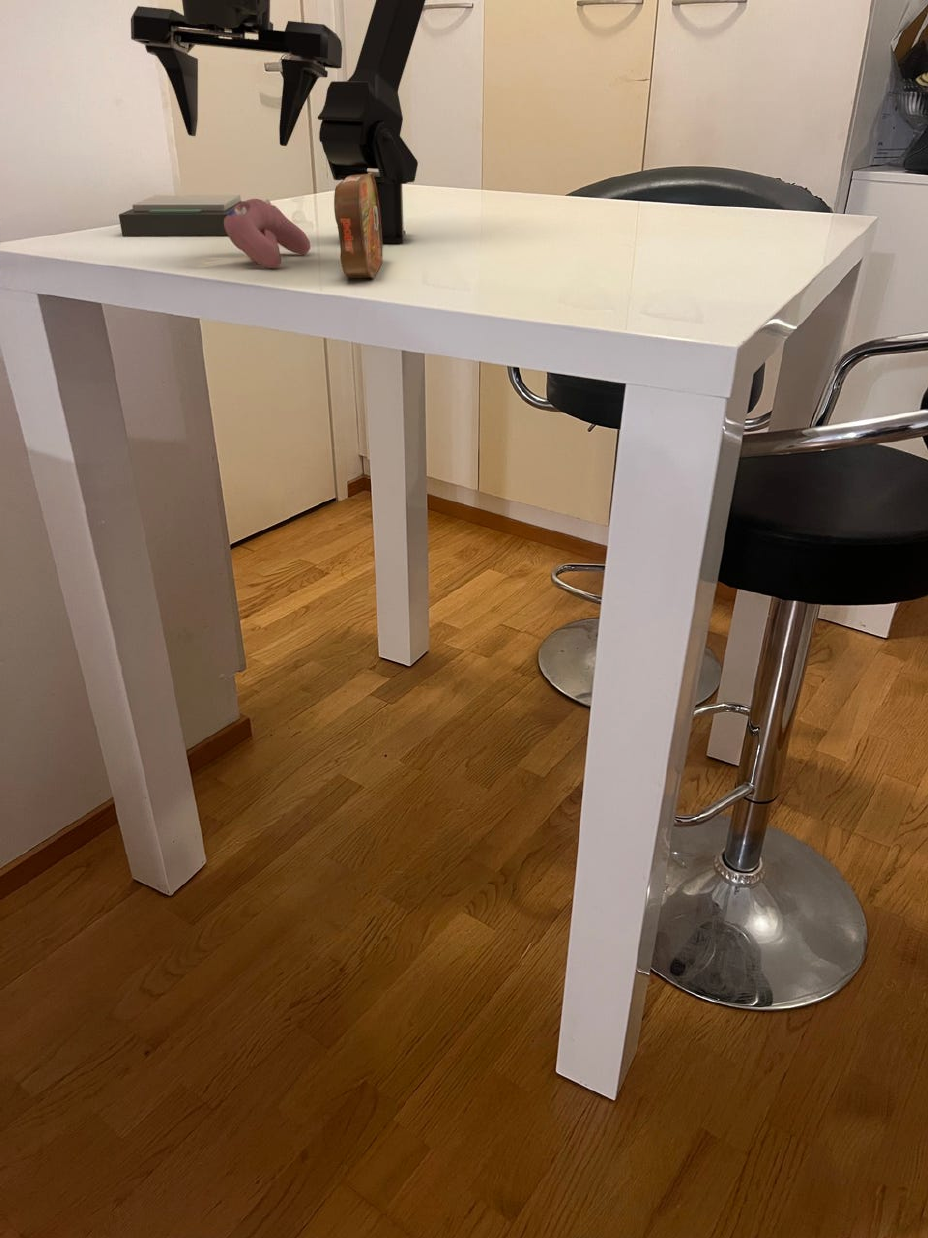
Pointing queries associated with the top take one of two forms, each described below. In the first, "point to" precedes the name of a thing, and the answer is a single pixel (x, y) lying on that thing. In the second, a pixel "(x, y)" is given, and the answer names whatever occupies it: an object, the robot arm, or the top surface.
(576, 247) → the top surface
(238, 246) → the video game controller
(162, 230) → the scale
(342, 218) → the tin
